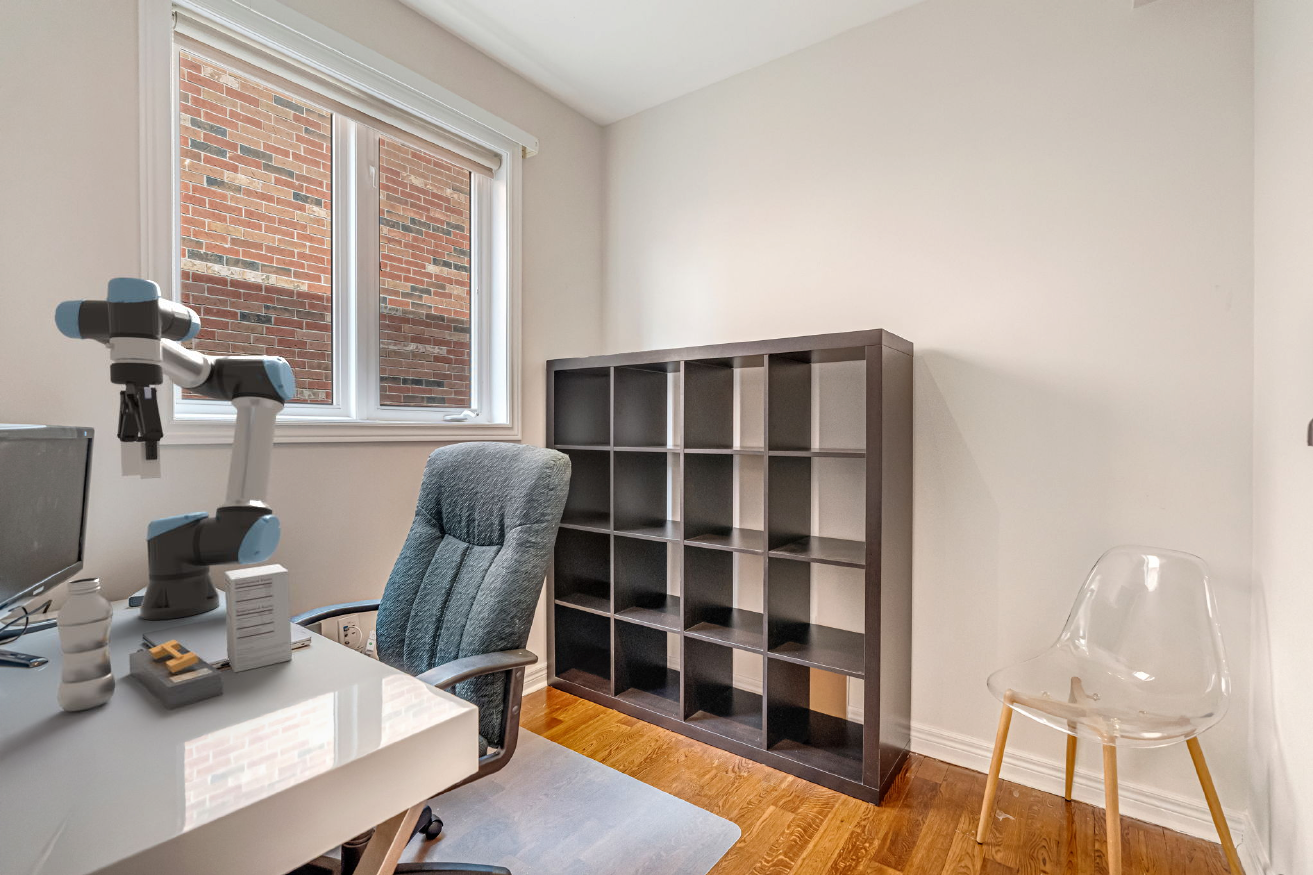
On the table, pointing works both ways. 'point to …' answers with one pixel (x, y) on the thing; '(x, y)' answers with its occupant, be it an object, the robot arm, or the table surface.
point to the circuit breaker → (175, 679)
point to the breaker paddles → (179, 660)
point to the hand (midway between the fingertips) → (140, 477)
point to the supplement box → (258, 617)
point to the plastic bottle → (85, 647)
